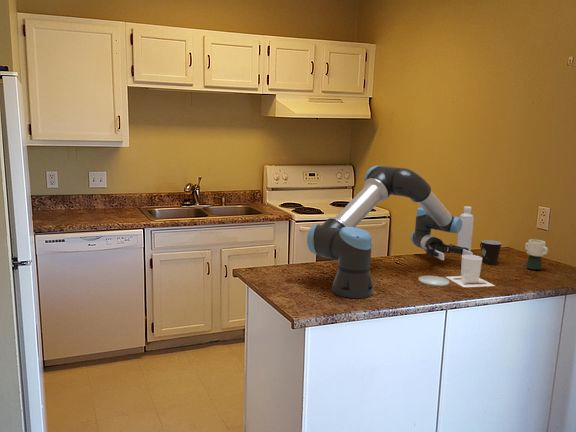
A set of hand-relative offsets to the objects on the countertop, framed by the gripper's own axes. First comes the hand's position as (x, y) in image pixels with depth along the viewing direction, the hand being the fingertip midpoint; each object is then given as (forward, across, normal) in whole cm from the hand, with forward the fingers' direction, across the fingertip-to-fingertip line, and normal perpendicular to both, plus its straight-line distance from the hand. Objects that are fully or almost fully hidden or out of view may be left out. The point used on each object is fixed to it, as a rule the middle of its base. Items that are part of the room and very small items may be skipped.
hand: (457, 256), depth 218 cm
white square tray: (+10, 0, -8) cm, 13 cm away
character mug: (-3, -41, -8) cm, 42 cm away
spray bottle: (-34, -25, -8) cm, 43 cm away
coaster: (+8, +15, -8) cm, 19 cm away
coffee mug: (-16, -27, -8) cm, 32 cm away
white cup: (+10, 0, -8) cm, 13 cm away
